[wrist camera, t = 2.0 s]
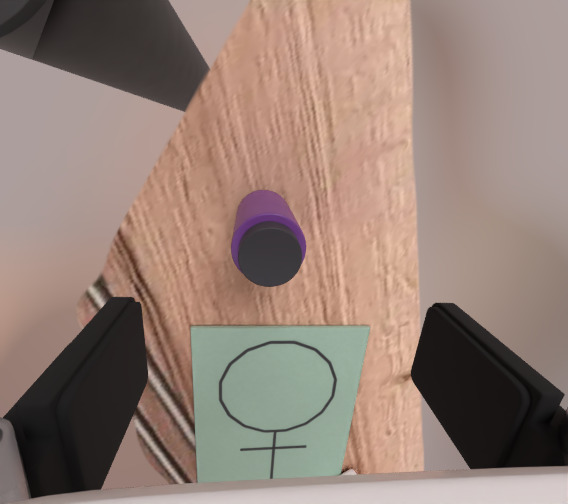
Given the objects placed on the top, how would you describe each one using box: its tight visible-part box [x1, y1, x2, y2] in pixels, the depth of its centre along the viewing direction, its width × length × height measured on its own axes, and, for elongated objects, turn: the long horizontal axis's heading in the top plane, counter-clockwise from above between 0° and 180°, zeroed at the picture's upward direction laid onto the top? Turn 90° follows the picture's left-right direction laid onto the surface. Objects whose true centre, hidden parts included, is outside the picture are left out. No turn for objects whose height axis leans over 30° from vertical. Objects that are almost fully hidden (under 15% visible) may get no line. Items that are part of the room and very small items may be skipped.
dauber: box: [231, 190, 306, 287], centre depth 19 cm, size 4×4×9 cm
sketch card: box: [191, 325, 370, 483], centre depth 31 cm, size 24×16×1 cm, turn 176°
